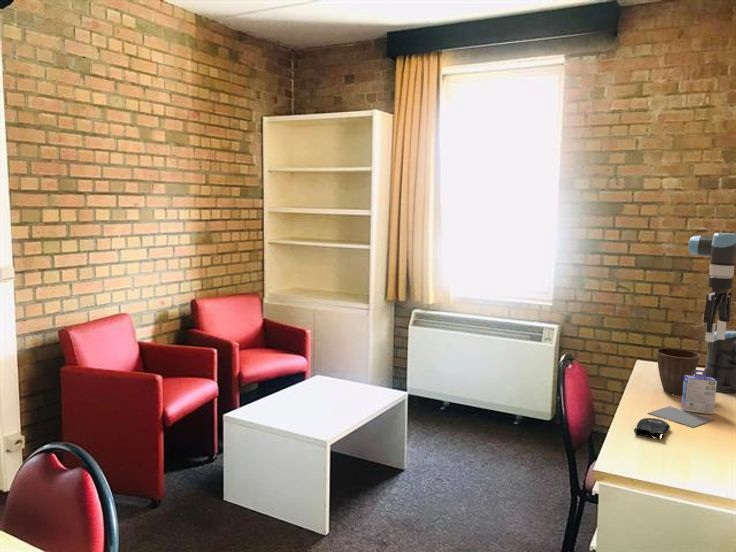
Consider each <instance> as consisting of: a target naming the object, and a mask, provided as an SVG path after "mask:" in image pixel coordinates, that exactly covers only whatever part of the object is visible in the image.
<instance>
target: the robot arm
mask: <svg viewBox="0 0 736 552" xmlns="http://www.w3.org/2000/svg"><path fill="white" fill-rule="evenodd" d="M687 250H688V252H689V254H691V255H693V256H697V257H710V265H709V267H708V269H709V273H708V274H709V275H710V276H709V277H708V281H707V282H708V283H707V287H708V288H711V292H710V293H706V296H705V297H706V300H705V307H704V312H703V323H704V324H705V323H706V325H705V335H704V337H705V338H704V341H705V342H707V350H706V361H705V367H704V369H703V371H705V373H706V377H712V378H714V379H715V380H717V386H716V392H721V393H729V394H730V393H733V394H735V393H736V331H735V330H726V328H727V323H729V322H730V321H731V320H730V319H731V306H732V305H731V301H732V295H733V293H732V292H729V291H728V290H731V289H732V288H733V282H734V279H733V277H734V274H735V263H736V233H730V232H729V233H728V232H716V233H714V234H713V235H712V236H707V235H706V236H705V235H693V236H692V237H690V238H689V240H688V244H687ZM717 313H718V320H717V324H716V323H715V320H716V318H717ZM701 373H702V372H701ZM703 374H704V373H702V375H703Z"/></svg>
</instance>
